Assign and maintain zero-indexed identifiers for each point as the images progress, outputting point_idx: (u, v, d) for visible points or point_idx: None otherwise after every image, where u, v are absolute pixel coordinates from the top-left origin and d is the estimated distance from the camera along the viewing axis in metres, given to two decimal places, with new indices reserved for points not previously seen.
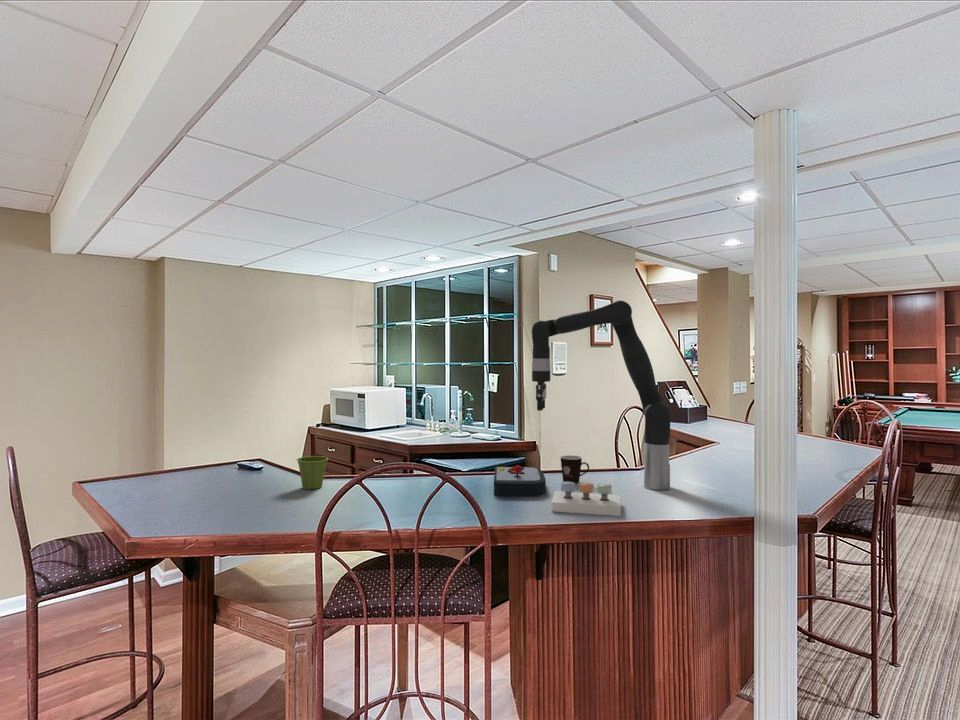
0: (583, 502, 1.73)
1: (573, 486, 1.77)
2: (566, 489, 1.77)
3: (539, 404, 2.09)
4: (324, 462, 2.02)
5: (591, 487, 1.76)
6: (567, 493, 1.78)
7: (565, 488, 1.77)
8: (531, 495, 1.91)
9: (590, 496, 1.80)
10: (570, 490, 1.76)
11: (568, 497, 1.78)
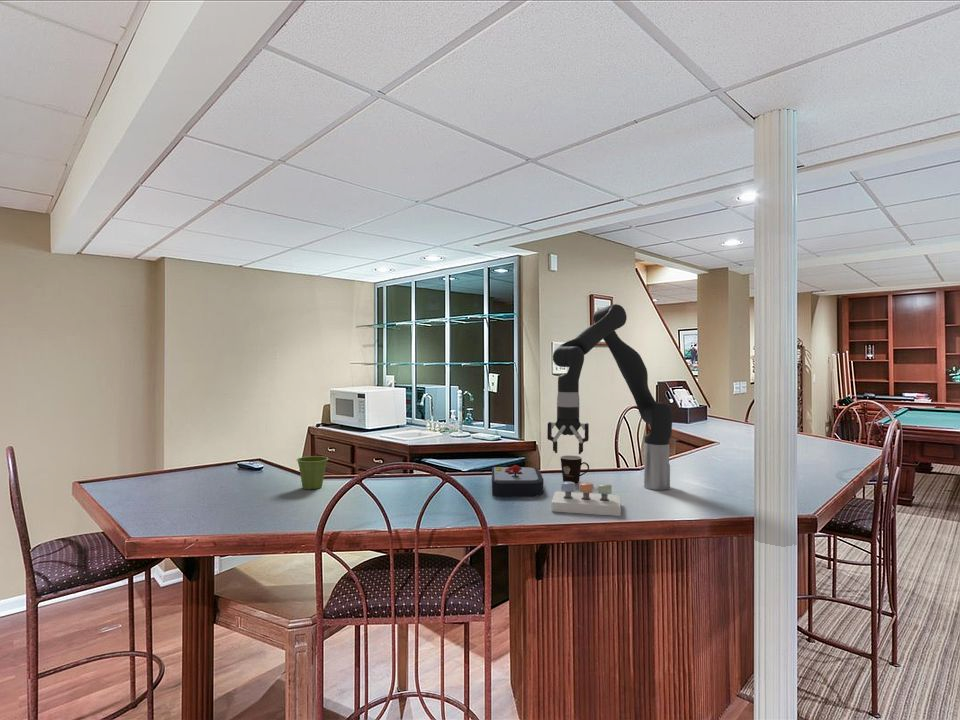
0: (583, 502, 1.73)
1: (573, 486, 1.77)
2: (566, 489, 1.77)
3: (582, 446, 1.78)
4: (324, 462, 2.02)
5: (591, 487, 1.76)
6: (567, 493, 1.78)
7: (565, 488, 1.77)
8: (530, 495, 1.91)
9: (590, 496, 1.80)
10: (570, 490, 1.76)
11: (568, 497, 1.78)
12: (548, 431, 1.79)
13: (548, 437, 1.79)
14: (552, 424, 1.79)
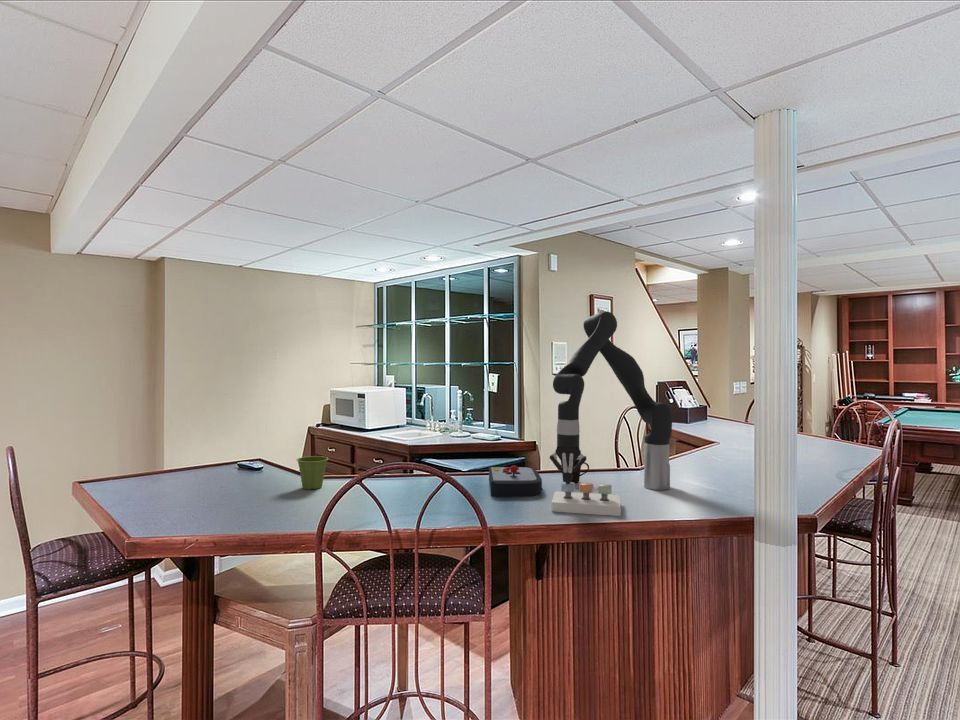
0: (583, 502, 1.73)
1: (573, 486, 1.77)
2: (566, 490, 1.77)
3: None
4: (324, 462, 2.02)
5: (591, 487, 1.76)
6: (567, 493, 1.78)
7: (565, 488, 1.77)
8: (529, 495, 1.91)
9: (590, 496, 1.80)
10: (570, 490, 1.76)
11: (568, 497, 1.78)
12: (555, 463, 1.78)
13: (558, 468, 1.78)
14: (554, 455, 1.79)
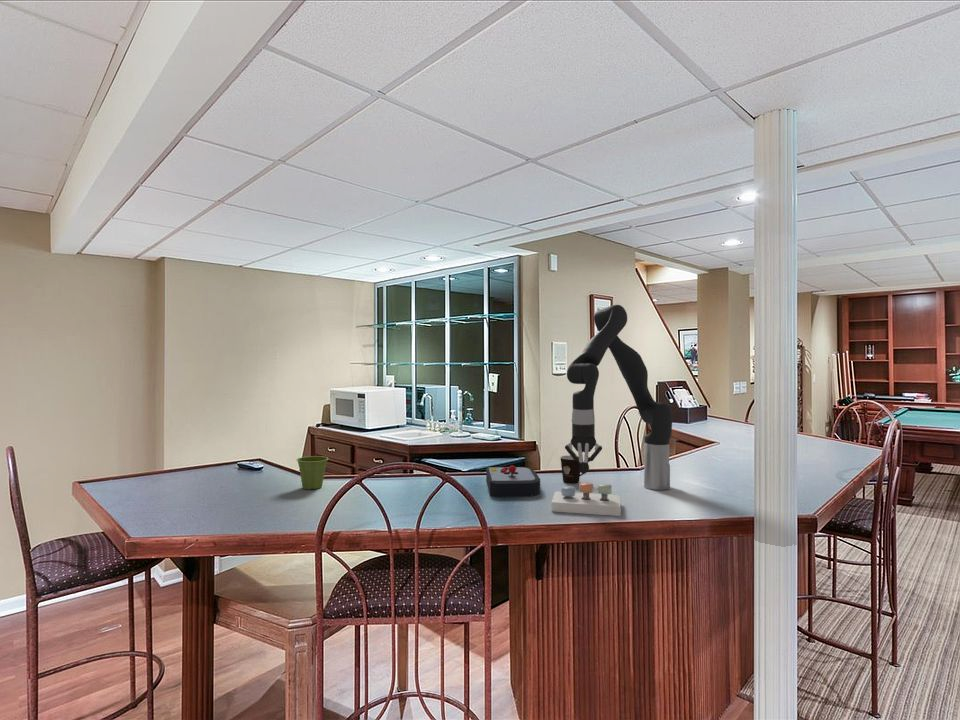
0: (583, 502, 1.73)
1: (573, 491, 1.77)
2: (566, 494, 1.77)
3: (587, 466, 1.78)
4: (324, 462, 2.02)
5: (591, 487, 1.76)
6: (567, 498, 1.78)
7: (565, 492, 1.77)
8: (528, 495, 1.91)
9: (590, 496, 1.80)
10: (570, 495, 1.77)
11: None
12: (570, 453, 1.78)
13: (574, 458, 1.77)
14: (569, 445, 1.79)
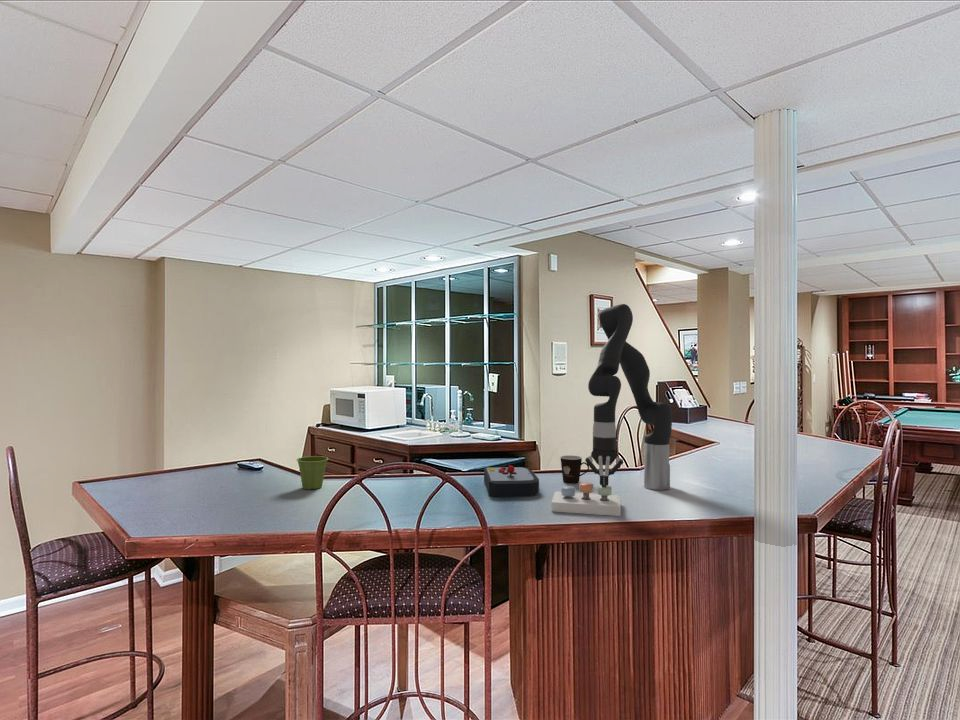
0: (583, 502, 1.73)
1: (573, 491, 1.77)
2: (566, 494, 1.77)
3: None
4: (324, 462, 2.02)
5: (591, 487, 1.76)
6: (567, 498, 1.78)
7: (565, 492, 1.77)
8: (527, 495, 1.91)
9: (590, 496, 1.80)
10: (570, 495, 1.77)
11: None
12: (591, 466, 1.76)
13: (594, 471, 1.76)
14: (590, 458, 1.77)
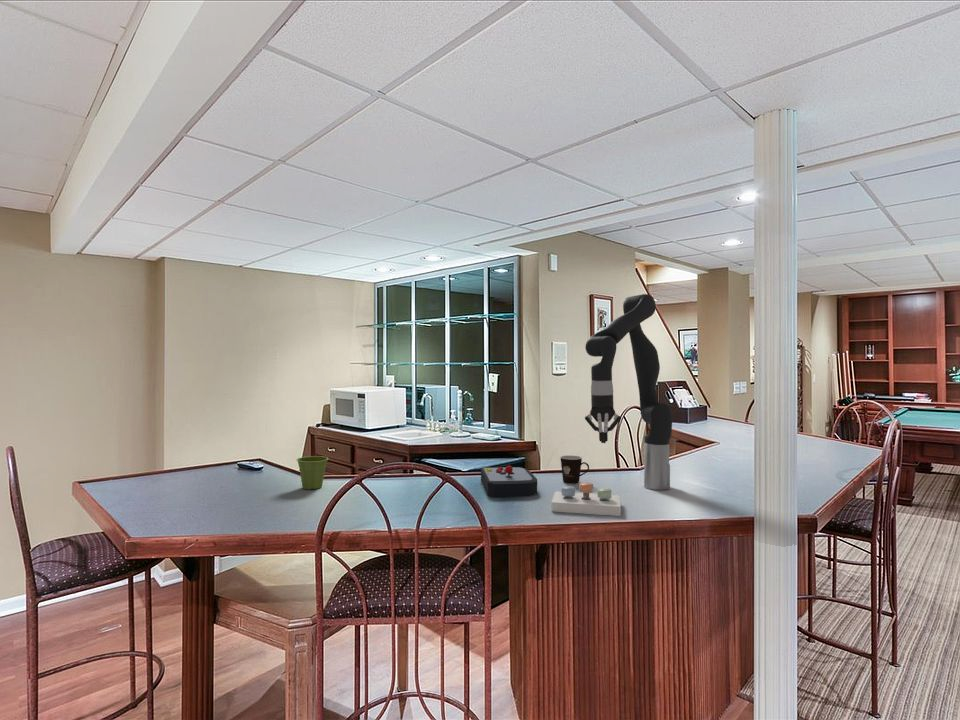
0: (583, 502, 1.73)
1: (573, 491, 1.77)
2: (566, 494, 1.77)
3: None
4: (324, 462, 2.02)
5: (591, 487, 1.76)
6: (567, 498, 1.78)
7: (565, 492, 1.77)
8: (525, 495, 1.91)
9: (590, 496, 1.80)
10: (570, 495, 1.77)
11: None
12: (590, 424, 1.84)
13: (594, 428, 1.83)
14: (589, 416, 1.84)
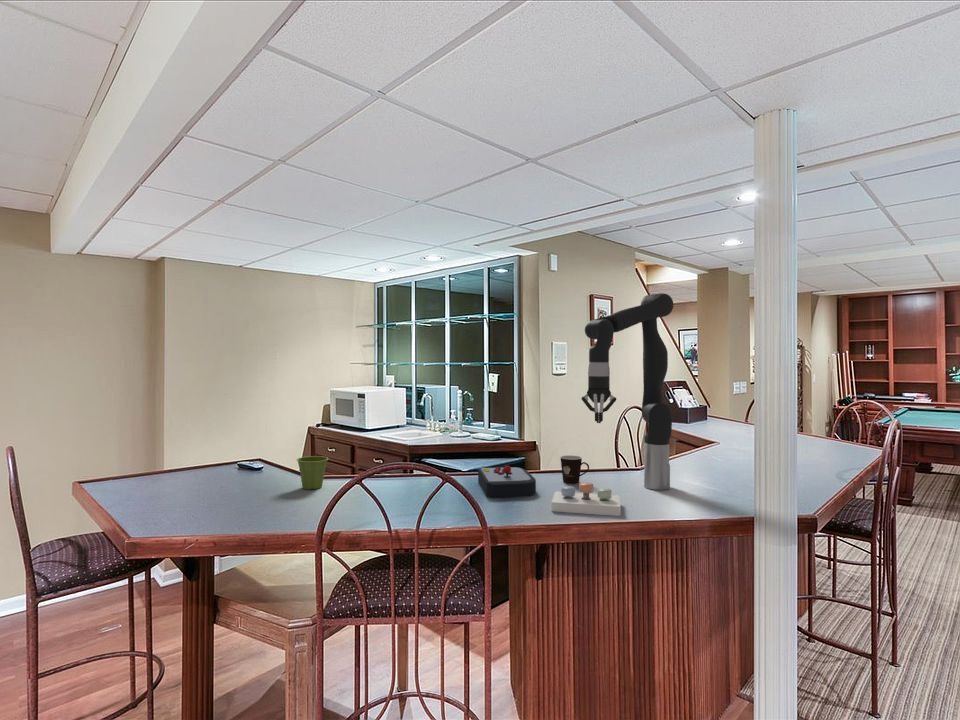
0: (583, 502, 1.73)
1: (573, 491, 1.77)
2: (566, 494, 1.77)
3: (602, 416, 1.90)
4: (324, 462, 2.02)
5: (591, 487, 1.76)
6: (567, 498, 1.78)
7: (565, 492, 1.77)
8: (524, 495, 1.91)
9: (590, 496, 1.80)
10: (570, 495, 1.77)
11: None
12: (586, 404, 1.90)
13: (590, 408, 1.89)
14: (586, 397, 1.90)
